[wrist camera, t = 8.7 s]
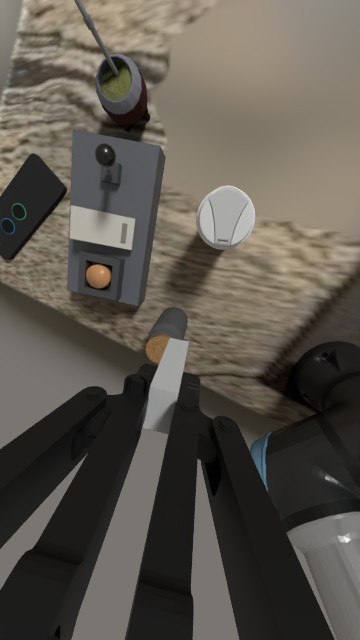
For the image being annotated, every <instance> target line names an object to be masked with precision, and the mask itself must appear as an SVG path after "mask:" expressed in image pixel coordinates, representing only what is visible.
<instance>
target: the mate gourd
mask: <svg viewBox="0 0 360 640" xmlns="http://www.w3.org/2000/svg"><path fill="white" fill-rule="evenodd" d="M74 1H75V3H76V4H77V6H78V8H79V10H80V12H81V14H82V15H83V17H84V21H85V23H86V25H87V27H88V29H89V30H91V32H92V34H93V36H94V37H95V39H96V41H97V43H98V45H99V46H100V48H101V50H102V52H103V54H104V56H105V57H106V58H105V59H103V61H102V62H101V64H100V65H99V67H98V70H97V75H96V92H97V95H98V97H99V100H100V102H101V104H102V107H103V109H104V110H105V111H106V112H107V114H108V115H109V116H110V117H111V118H112V119H113V120H114V121H115V122H117V123H118V124H119V125H120V126H122V127H124V128H125V129H124V130H125V131H127V132H129V131H130V128H131V125H132V124H133V123H135V122H137V121H139V120H140V118H143V119H145V120H148V121H149V120H150V114H148V109H147V90H146V85H145V82H144V79H143V76H142V73H141V72H140V70H139V69H138V68H137V66H136V65H135V64H134V62H133V61H132V60H131V59H130V58H128V57H126V56H124V55H122V54H113V55H109V54H108V52H107V50H106V48H105V46H104V44H103V42H102V40H101V38H100V37H99V35H98V33H97V31H96V29H95V27H94V23H93V21H92V19H91V17H90V15H89V14H87V12H86V10H85V8H84V6H83V4H82V3H81V1H80V0H74Z"/></svg>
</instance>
